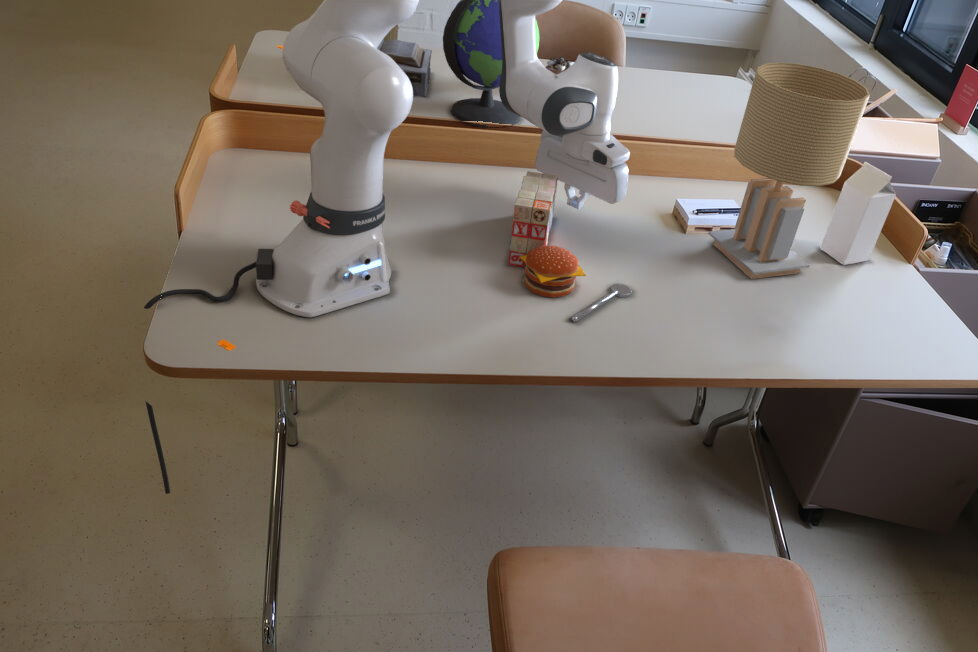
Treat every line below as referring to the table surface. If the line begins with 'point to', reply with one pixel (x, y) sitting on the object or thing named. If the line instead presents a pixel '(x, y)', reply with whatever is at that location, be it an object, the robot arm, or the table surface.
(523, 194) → the stack of blocks
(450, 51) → the globe
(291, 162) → the table surface
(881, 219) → the milk carton
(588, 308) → the metal handle tool
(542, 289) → the hamburger
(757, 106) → the desk lamp
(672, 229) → the table surface
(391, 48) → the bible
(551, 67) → the cupcake
